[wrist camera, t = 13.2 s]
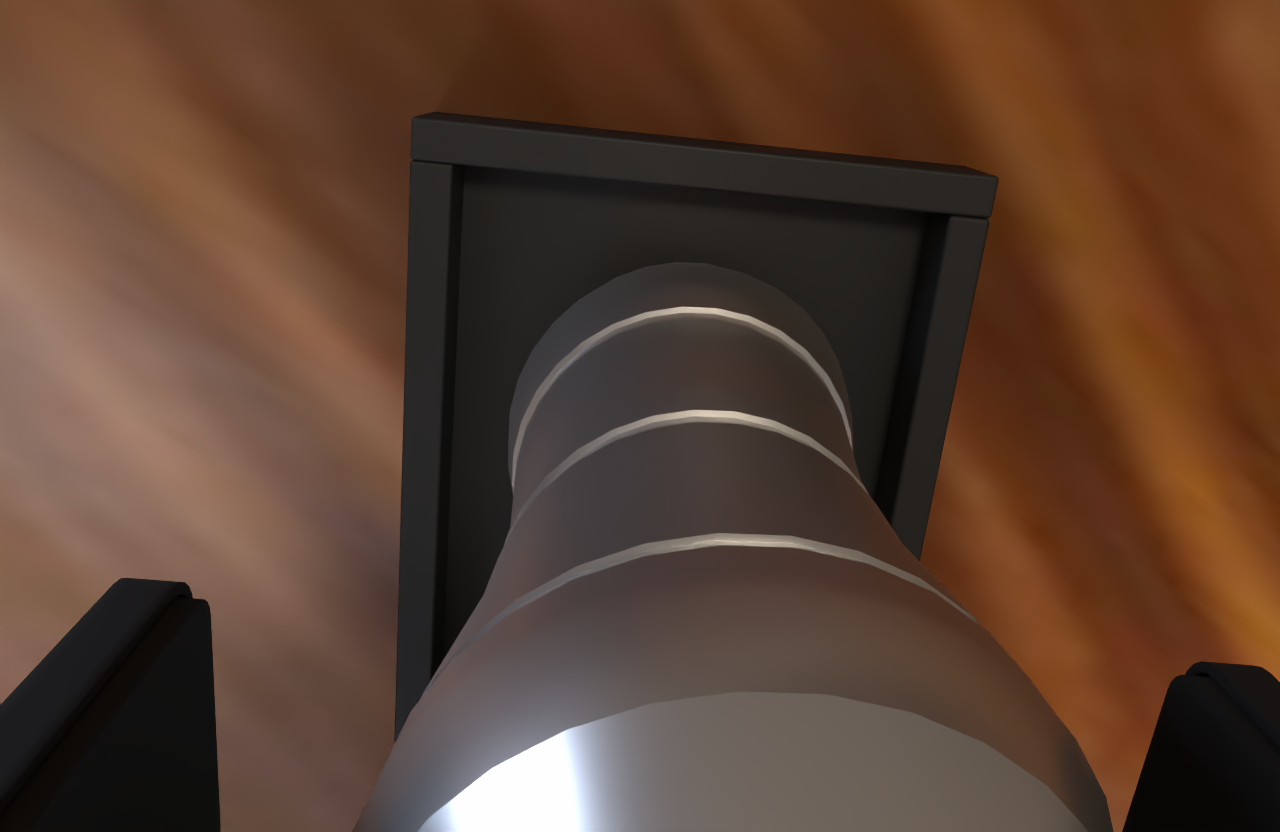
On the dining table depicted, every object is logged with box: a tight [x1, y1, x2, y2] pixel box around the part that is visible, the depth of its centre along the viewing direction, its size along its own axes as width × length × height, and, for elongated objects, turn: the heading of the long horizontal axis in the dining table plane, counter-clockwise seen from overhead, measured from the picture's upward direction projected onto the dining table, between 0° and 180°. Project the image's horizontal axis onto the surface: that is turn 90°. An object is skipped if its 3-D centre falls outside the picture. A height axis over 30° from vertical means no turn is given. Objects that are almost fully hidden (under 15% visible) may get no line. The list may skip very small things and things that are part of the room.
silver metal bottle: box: [352, 262, 1113, 832], centre depth 13 cm, size 6×7×20 cm
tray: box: [394, 112, 998, 744], centre depth 25 cm, size 30×11×2 cm, turn 174°
